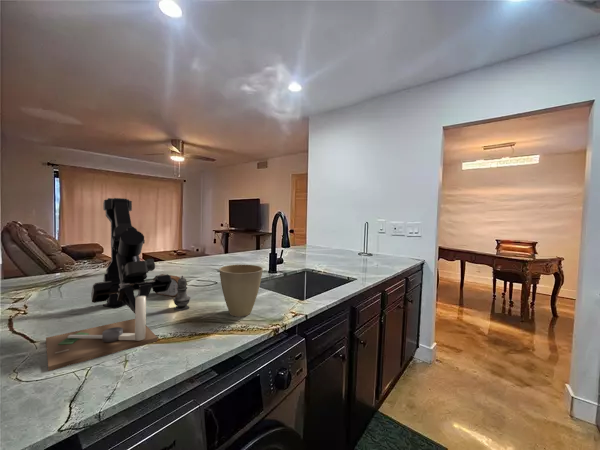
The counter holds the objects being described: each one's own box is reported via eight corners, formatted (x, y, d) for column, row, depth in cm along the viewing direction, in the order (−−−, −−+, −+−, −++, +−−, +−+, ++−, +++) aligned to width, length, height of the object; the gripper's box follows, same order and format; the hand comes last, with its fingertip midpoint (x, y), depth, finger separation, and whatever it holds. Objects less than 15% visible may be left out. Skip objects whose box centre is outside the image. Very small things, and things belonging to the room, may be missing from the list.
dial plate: (138, 320, 86) (139, 317, 86) (157, 340, 73) (157, 336, 73) (45, 341, 70) (45, 336, 70) (48, 371, 58) (48, 365, 58)
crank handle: (149, 334, 73) (149, 294, 73) (140, 342, 69) (140, 299, 69) (75, 334, 72) (75, 293, 72) (62, 341, 68) (62, 298, 68)
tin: (184, 296, 112) (185, 276, 112) (179, 298, 109) (179, 278, 109) (156, 292, 117) (157, 272, 117) (150, 294, 114) (150, 274, 114)
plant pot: (210, 312, 95) (211, 267, 94) (245, 303, 106) (246, 263, 105) (234, 325, 85) (235, 274, 84) (270, 313, 96) (271, 269, 95)
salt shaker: (183, 311, 95) (184, 277, 94) (169, 310, 96) (169, 276, 96) (193, 306, 100) (194, 274, 100) (179, 304, 102) (180, 273, 101)
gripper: (93, 251, 69) (99, 306, 61) (170, 247, 82) (183, 291, 74) (88, 277, 75) (94, 329, 67) (161, 269, 88) (172, 312, 80)
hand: (139, 314), depth 72 cm, fingers closed, pressing on crank handle
